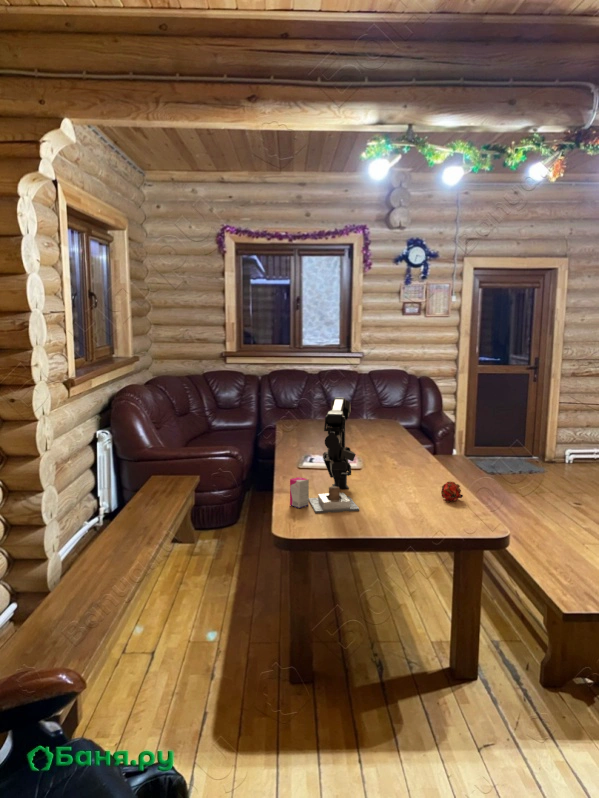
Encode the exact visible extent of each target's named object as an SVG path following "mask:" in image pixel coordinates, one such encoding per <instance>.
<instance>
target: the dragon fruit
mask: <svg viewBox="0 0 599 798" xmlns="http://www.w3.org/2000/svg"><path fill="white" fill-rule="evenodd" d="M460 487H461V485H460V484H457V483H456V482H455V481H447V482H445V483H444V484H443V485H442V486H441V490H440V491H441V492H440V494H441V498H442V499H445V501H446V502H448V503H451V502H452V501H454V502H456V501H457V500H459V499H462V498H463V497H464V494H461V493H462V489H461V488H460Z"/></svg>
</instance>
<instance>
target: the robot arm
mask: <svg viewBox="0 0 599 798" xmlns="http://www.w3.org/2000/svg"><path fill="white" fill-rule="evenodd" d="M351 405H352V404H351V402H350V401H348V400H347V399H346V397H334V398H333V400H332V401H331V403H330V406H331V407H330V408H331V409H330V410H328V411H327V414H326V415H325V417H324V427H323V431H324V432H327V435H326V437H325V438H324V445H325V447H326V449H327V451H324V452H323V453H322V460H323V462H324V465H325V467H326V471H327V472H328V475H329V477H330V478H331V479H332V478H333V481H334V483H333V484H332V483H331V484H332V485H331V487H332V486H336V487H339V488H340V490H345V489H349V488H350V487H349V486H348V482H347V481H348V477H350V476H352V465H351V464H350V462H354V461H355V457H356V455H357V454H356V453H355V452H354V451H352V450H351V448H350V447H348V446H346V429H347V426H346V423H347V420H348V418H349V417H350V414H351V410H352V409H351V408H352V406H351ZM349 461H350V462H349Z"/></svg>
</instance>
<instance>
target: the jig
mask: <svg viewBox="0 0 599 798" xmlns="http://www.w3.org/2000/svg"><path fill="white" fill-rule="evenodd" d="M317 494H318V495H317V496H318V497H309V504H310V506H311V505H312V506H311V507H313V508H312V510H313V509H314V510H313V511H314V513H315V514H326V513H327V514H328V512H331V513H344V512H343V511H349V512H360V508H359V506H358V505H357V504H356V503H355V502H354V499H352V497H351V496H349V495H346V494H345V493H344V492H340V494H339V500H329V492H327V493H317Z"/></svg>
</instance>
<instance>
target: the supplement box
mask: <svg viewBox="0 0 599 798" xmlns="http://www.w3.org/2000/svg"><path fill="white" fill-rule="evenodd" d="M309 480H310V479H308V478H305V477H300V476H298V477H295V478H290V479H289V506H290V505H291V506H290V507H292V506H294V507H293V508H295V507H296V508H295V509H298V508H300V509H302V507H303V508H306V507H309V506H310V505H309V504H310V502H309V498H310V495H309V494H310V493H309V492H310V491H309V489H310V487H309V485H310V484H309V483H310V481H309ZM305 506H306V507H305Z"/></svg>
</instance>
